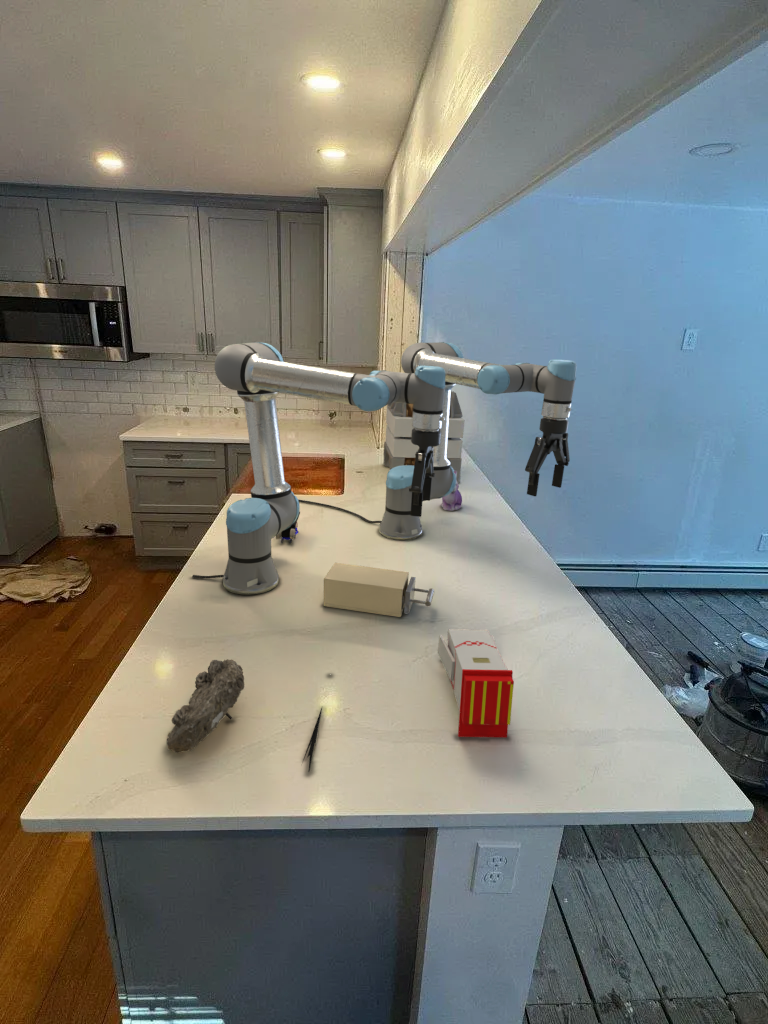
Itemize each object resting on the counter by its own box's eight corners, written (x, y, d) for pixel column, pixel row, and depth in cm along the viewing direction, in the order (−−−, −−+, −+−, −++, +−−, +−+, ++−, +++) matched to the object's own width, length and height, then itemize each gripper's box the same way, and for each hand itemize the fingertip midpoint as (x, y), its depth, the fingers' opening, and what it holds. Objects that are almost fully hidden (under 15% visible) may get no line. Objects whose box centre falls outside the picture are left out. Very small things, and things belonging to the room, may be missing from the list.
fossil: (192, 660, 117) (244, 628, 112) (224, 691, 120) (276, 661, 115) (142, 746, 98) (202, 712, 93) (182, 779, 101) (242, 748, 96)
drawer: (433, 600, 153) (435, 579, 151) (429, 617, 145) (431, 595, 143) (344, 588, 158) (345, 567, 156) (335, 603, 149) (336, 582, 147)
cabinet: (407, 598, 155) (408, 572, 153) (400, 617, 146) (402, 589, 143) (334, 588, 159) (334, 562, 156) (323, 606, 150) (323, 578, 147)
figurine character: (295, 549, 186) (301, 528, 200) (295, 529, 183) (300, 509, 196) (275, 549, 186) (282, 527, 199) (274, 528, 183) (281, 508, 196)
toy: (488, 613, 130) (523, 677, 101) (484, 667, 133) (517, 744, 104) (435, 612, 130) (455, 676, 101) (432, 666, 133) (451, 743, 103)
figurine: (448, 512, 222) (451, 476, 217) (434, 504, 231) (437, 469, 226) (468, 509, 227) (471, 473, 222) (453, 502, 235) (457, 467, 230)
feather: (331, 679, 122) (336, 673, 122) (307, 777, 96) (313, 769, 95) (324, 675, 122) (329, 669, 121) (298, 772, 95) (304, 764, 95)
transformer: (382, 463, 289) (386, 382, 275) (445, 464, 293) (451, 384, 279) (390, 482, 257) (394, 392, 243) (460, 483, 261) (468, 394, 247)
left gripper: (433, 440, 132) (426, 525, 139) (447, 421, 155) (441, 495, 162) (401, 437, 133) (396, 521, 141) (420, 419, 156) (415, 492, 164)
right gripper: (543, 424, 146) (532, 502, 153) (589, 415, 163) (577, 486, 170) (518, 419, 151) (508, 495, 158) (565, 411, 168) (554, 480, 175)
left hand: (420, 507), depth 151 cm, fingers open, 13 cm apart
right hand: (544, 490), depth 164 cm, fingers open, 13 cm apart
